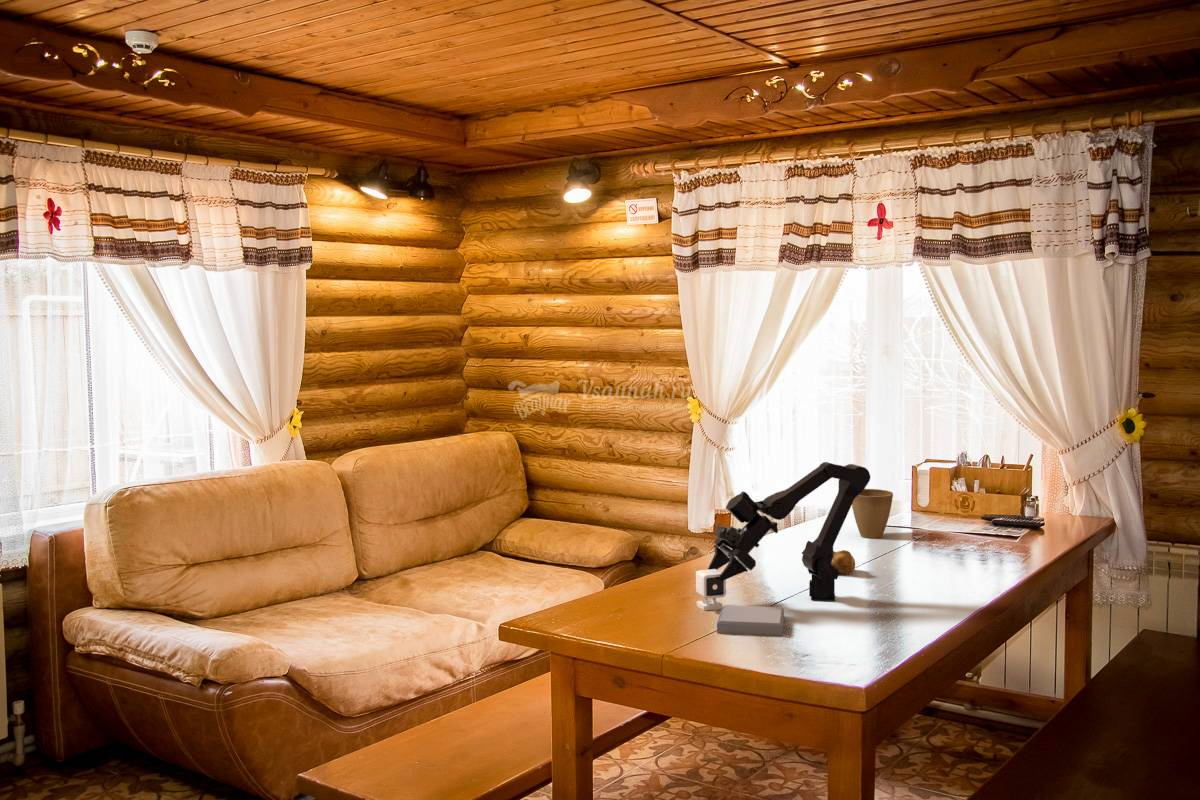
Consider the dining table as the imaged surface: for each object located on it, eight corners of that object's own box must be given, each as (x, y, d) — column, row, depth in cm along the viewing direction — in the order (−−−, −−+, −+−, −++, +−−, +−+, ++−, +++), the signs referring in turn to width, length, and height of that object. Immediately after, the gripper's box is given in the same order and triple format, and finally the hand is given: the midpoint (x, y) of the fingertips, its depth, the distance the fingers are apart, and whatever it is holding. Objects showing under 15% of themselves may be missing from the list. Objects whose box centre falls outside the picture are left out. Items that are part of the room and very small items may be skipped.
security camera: (704, 612, 282) (703, 575, 281) (695, 605, 288) (694, 569, 288) (726, 610, 283) (725, 573, 283) (716, 603, 290) (716, 568, 289)
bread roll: (808, 572, 324) (808, 546, 323) (822, 566, 331) (822, 541, 331) (847, 578, 316) (847, 551, 315) (861, 571, 324) (861, 546, 323)
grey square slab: (784, 617, 275) (784, 606, 275) (781, 635, 259) (781, 623, 259) (722, 615, 278) (722, 604, 278) (717, 633, 263) (716, 621, 262)
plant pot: (841, 535, 378) (841, 491, 377) (874, 530, 384) (874, 487, 383) (868, 542, 365) (868, 497, 364) (902, 538, 371) (902, 493, 370)
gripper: (720, 508, 295) (683, 549, 293) (744, 520, 276) (704, 564, 275) (747, 534, 297) (710, 575, 295) (772, 548, 279) (733, 591, 277)
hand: (713, 576), depth 285 cm, fingers open, 9 cm apart
